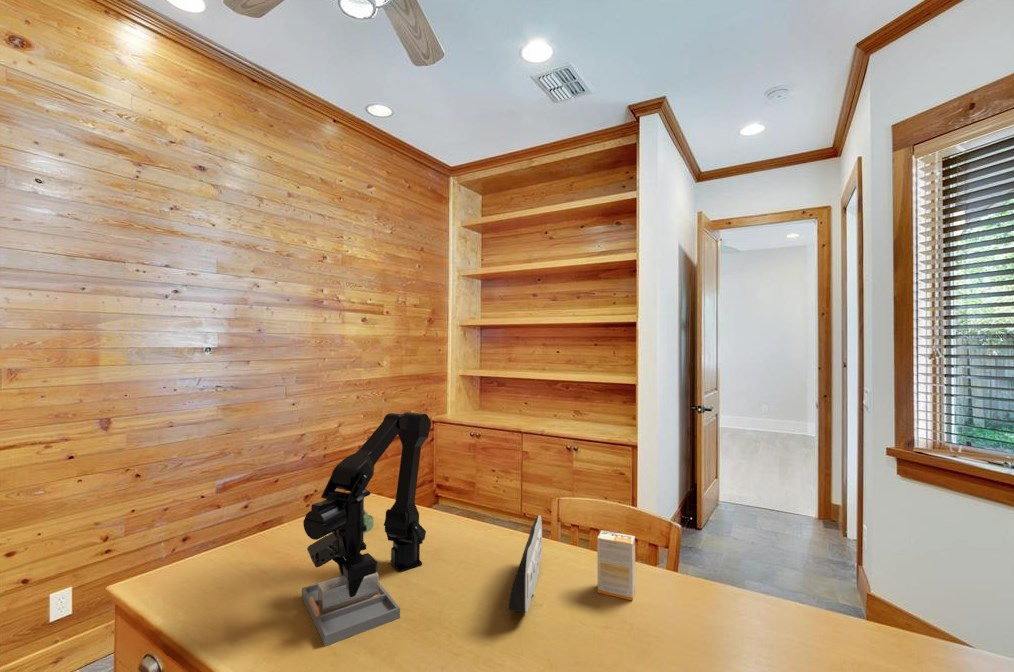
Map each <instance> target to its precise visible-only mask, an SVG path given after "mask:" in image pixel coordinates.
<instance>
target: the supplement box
mask: <svg viewBox="0 0 1014 672" xmlns="http://www.w3.org/2000/svg"><path fill="white" fill-rule="evenodd" d="M635 537H636V536H635V535H631V534H625V533H619V532H612V531H608V530H600V533H598V536H597V537H596V540H597V541H596V542H597V543H596V544H597V552H596V553H597V554H596V555H597V559H596V560H597V561H596V562H597V593H599V594H603V595H607V596H613V597H616V598H619V599H620V598H621V599H625V600H628V601H633V599H634V596H635V593H636V538H635Z"/></svg>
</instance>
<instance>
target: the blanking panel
mask: <svg viewBox="0 0 1014 672" xmlns="http://www.w3.org/2000/svg"><path fill="white" fill-rule="evenodd" d="M379 578H380V577H379V572H378V571H377V572H376V573H374V574H371V575H368V576H365V577H364V578H363V580H362V582H361V585H360V587H359V589H358V591H357V593H356V595H355V596H353V597H350V595H349V590H348V583H347V579H346V577H345V576H341V575H340V576H338V577H334V578H331V579H327V580H324V581H321V583H320V582H317V583H318V606H319V608H320V609H321V611H322V613H325V612H328V611H331V610H334V609H337V608H340V607H343V606H345V605H348V604H351V603H354V602H357V601H360V600H363V599H366V598H369V597H372V596H375V595H378V593H379V583H380V582H379V580H380V579H379Z"/></svg>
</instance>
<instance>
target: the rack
mask: <svg viewBox="0 0 1014 672" xmlns="http://www.w3.org/2000/svg"><path fill="white" fill-rule="evenodd" d="M321 582H322V581H321ZM321 582H317V583H315V584H311V585H307V586H304V587H301V598H302V600H303V602H304V604H305V606H307V607H306V609H307V611H308V613H309V615H310V617H311V619H312V621H313V623H314V626H315V629H316V630H317V633H318V634H319V636H320V639H321V641H322V643H323V644H324V645H323V646H324V647H327V646H330V645H333V644H336V643H338V642H341V641H344V640H346V639H349V638H351V637H353V636H356V635H359V634H361V633H364V632H366V631H369V630H372V629H374V628H377V627H379V626H383V625H385V624H387V623H390V622H392V621H395V620H398V619H400V618H401V608H400V606H399V605H398V604H397V603H396V601H395V600H394V599H393V598H392V596H391V595H390V594H389V593H388V591H387V590H386V588H384V587H383V585H382V584H381V583H380V582H379V593H378V595H375V596H372V597H369V598H366V599H363V600H360V601H357V602H354V603H351V604H348V605H345V606H343V607H340V608H337V609H334V610H331V611H328V612H325V613H322V611H321V609H320V608H319V606H318V583H321Z"/></svg>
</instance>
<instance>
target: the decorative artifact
mask: <svg viewBox="0 0 1014 672" xmlns="http://www.w3.org/2000/svg"><path fill="white" fill-rule="evenodd" d="M364 524H365V525H366V526H367V530H366V531H364V534H365V533H368V532H370V531H372V529H373V528H374V517H373V515H371V514H369V513H368V511H366V509H364Z"/></svg>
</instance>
